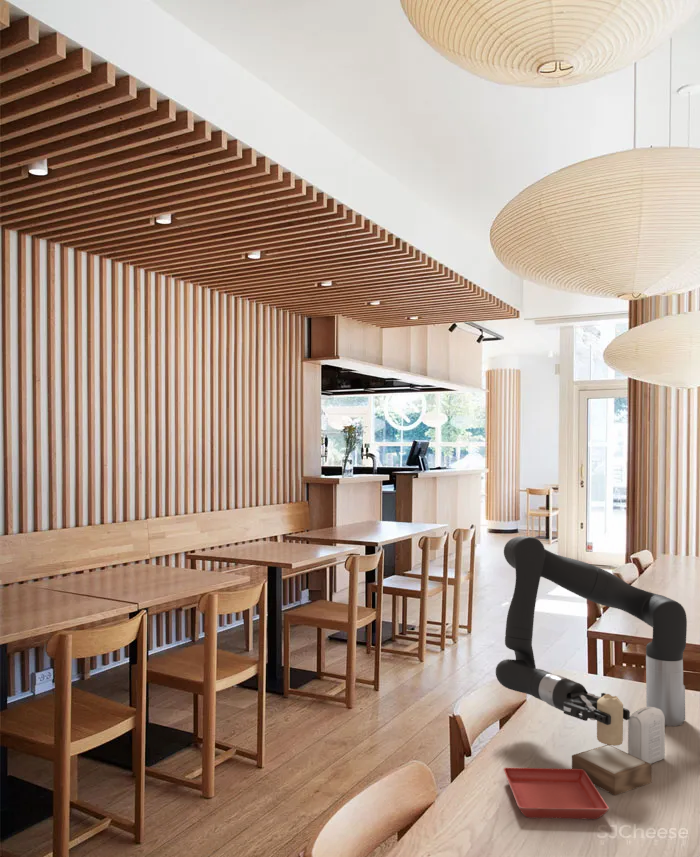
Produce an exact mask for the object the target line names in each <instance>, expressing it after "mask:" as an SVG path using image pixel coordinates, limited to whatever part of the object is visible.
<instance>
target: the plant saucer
mask: <svg viewBox="0 0 700 857" xmlns="http://www.w3.org/2000/svg"><path fill="white" fill-rule="evenodd" d="M503 772H504V774H505V777H506V779H507V782H508V784H509V787H510V790H511V793H512V795H513V797H514V800H515V802H516V804H517V807H518V808H519V810H520V812H521V813H522V814H523V816H525V818H528V819H529V818H530V819H569V820H570V819H571V820H572V819H575V820H578V819H579V820H597V819H599V818H601V817H602V816H603V815H605V814H606V813H607V812H608V811H609V809H610V808H609V806H608V805H607V803H606V801H605V799H604V798H603V797H602V795H601V793H600V792H599V791H598V789H597V788H596V787H597V786H596V785H594V784H593V782H592V781H591V779H590V778H589V776H588V775H587V773H586V772H585V771H584V770H583V769H572V768H554V767H553V768H552V767H551V768H550V767H549V768H548V767H547V768H546V767H542V768H540V767H504V768H503Z"/></svg>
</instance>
